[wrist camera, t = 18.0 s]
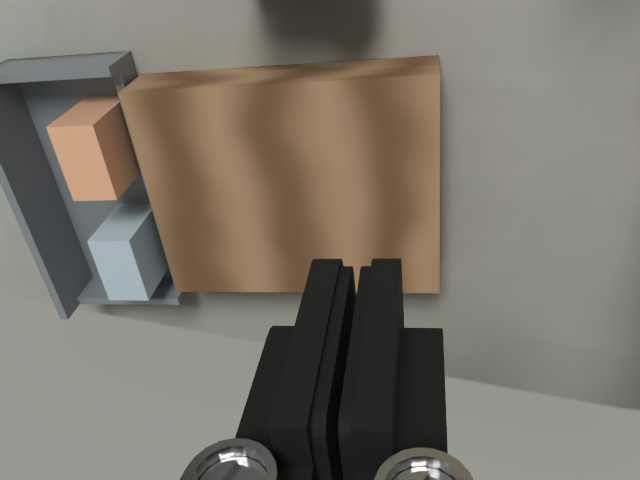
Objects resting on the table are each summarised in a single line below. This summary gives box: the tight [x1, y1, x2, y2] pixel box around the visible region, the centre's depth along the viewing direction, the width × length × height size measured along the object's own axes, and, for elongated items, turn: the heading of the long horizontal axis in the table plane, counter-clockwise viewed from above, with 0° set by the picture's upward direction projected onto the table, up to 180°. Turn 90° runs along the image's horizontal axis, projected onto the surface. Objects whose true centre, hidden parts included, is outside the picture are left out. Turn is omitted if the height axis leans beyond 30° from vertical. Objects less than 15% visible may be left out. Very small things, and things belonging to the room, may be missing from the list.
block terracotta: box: [46, 96, 141, 201], centre depth 38 cm, size 5×5×3 cm
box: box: [0, 51, 186, 319], centre depth 41 cm, size 9×18×5 cm, turn 6°
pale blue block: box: [87, 203, 169, 301], centre depth 43 cm, size 5×5×3 cm
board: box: [118, 55, 440, 293], centre depth 39 cm, size 19×15×4 cm
